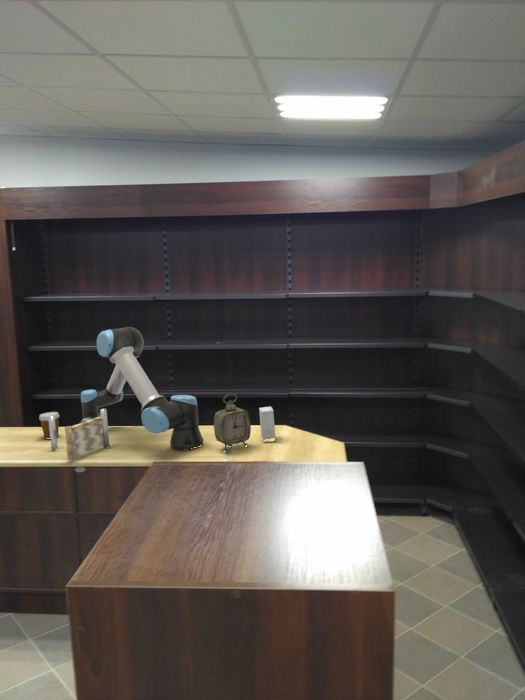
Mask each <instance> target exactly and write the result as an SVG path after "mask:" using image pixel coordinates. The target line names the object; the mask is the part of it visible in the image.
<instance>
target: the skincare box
mask: <svg viewBox="0 0 525 700" xmlns="http://www.w3.org/2000/svg"><path fill="white" fill-rule="evenodd" d="M258 411H259V422H260V425H259V426H260V436H261V437H262V438H263V440H265V439H271V438H275V439H276V427H275V426H276V425H275V415H274V409H273V407H272V406H264V407H259V409H258ZM261 437H260V438H261ZM262 438H261V439H262ZM263 440H262V441H263Z"/></svg>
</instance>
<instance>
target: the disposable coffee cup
mask: <svg viewBox="0 0 525 700" xmlns="http://www.w3.org/2000/svg"><path fill="white" fill-rule="evenodd" d="M48 416H55V424H56V434H57V436H58V437H59V422H60V420H59V419H60V414H59V412H58V411H49V412H44V413H40V414H39V417H38V419H39V421H40V425H41V429H42V433H43V436H44V439H45V438H50V430H49V421H48Z"/></svg>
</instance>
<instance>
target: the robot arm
mask: <svg viewBox="0 0 525 700" xmlns="http://www.w3.org/2000/svg"><path fill="white" fill-rule="evenodd" d="M144 344H145V342H144V337H143V334H142V333H141V332H140V331H139V330H138V329H137V328H135V327H132V326H126V327H125V326H124V327H121V328H115V329H107V330H102V331H101V332H99V334H98V336H97V338H96V349H97V352H98V354H99V355H100V356H101V357H103V358H108V360H109V361H110V363H112V364H115V366H114V369H113V372H112V374H111V375H110V379H109V381H108V383H107V385H106V388H105V390H102V391H101V390H100V391H97V390H96V389H86V390H83V391H81V392H80V402H81V410H82V420H81V421H80V422H79V423H78V424H80V423H82V422H85V421H88V420H91V419H94V418H97V417H101V416H100V412H99V408H102V407H106V406H110V405H113V404H117V403H119V402H121V401H122V400H123V399H124V392H123V388H124V385H126V382H127V384H128V385H129V387H130V388H131V390H132V392H133V393H134V395H135V396H136V398H137V399H138V401H139V403H140V404H141V415H140V416H141V417H140V419H141V423H142V426H143V428H144V429H145V430H146V431H148V432H149V433H150V434H151V433H152V434H155V435H156V434H160V433H165V432H167V431H169V430H172V433H171V436H170V437H171V438H170V440H169V445H170V448H171V449H172V450H175V451H185V450H184V449H191V448H194V447H198V446H200V445H202V444H203V442H204V437H203V435H202V433H201V430H200V427H199V425H200V424H199V411H198V410H199V409H198V401H197V398H196V397H195V396H193V395H190V394H189V395H188V394H177V395H172V396H170V401H168V400H167V398H166V397H165V396H164V395H160V394H159V393H158V390H157V389H156V388H155V386H154V384H153V383H152V381H151V380H150V379H149V377H148V375H147V374H146V372H145V371H144V369H143V368H142V366H141V364H140V363H139V361H138V359H137V358H139V357H140V355H141V354H142V352H143V349H144ZM203 445H204V444H203ZM203 445H202V446H203Z"/></svg>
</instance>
